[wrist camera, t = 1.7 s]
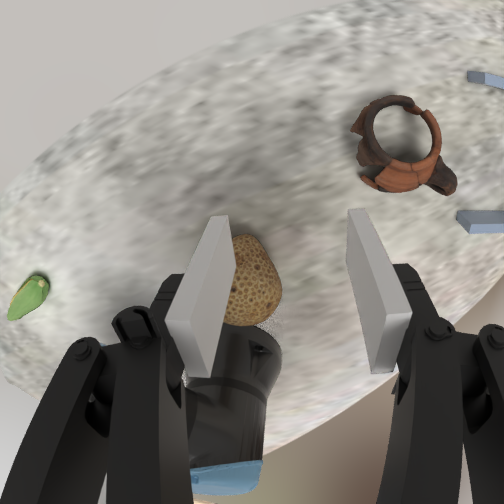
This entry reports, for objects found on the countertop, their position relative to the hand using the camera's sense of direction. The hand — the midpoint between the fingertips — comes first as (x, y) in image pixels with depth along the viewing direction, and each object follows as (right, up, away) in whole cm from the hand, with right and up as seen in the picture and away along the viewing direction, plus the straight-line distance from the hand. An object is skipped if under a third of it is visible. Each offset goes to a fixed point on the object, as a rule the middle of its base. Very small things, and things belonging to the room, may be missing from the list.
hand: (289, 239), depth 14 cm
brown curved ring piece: (+13, +10, +15) cm, 22 cm away
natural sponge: (-3, -1, +24) cm, 24 cm away
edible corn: (-43, -8, +33) cm, 55 cm away
